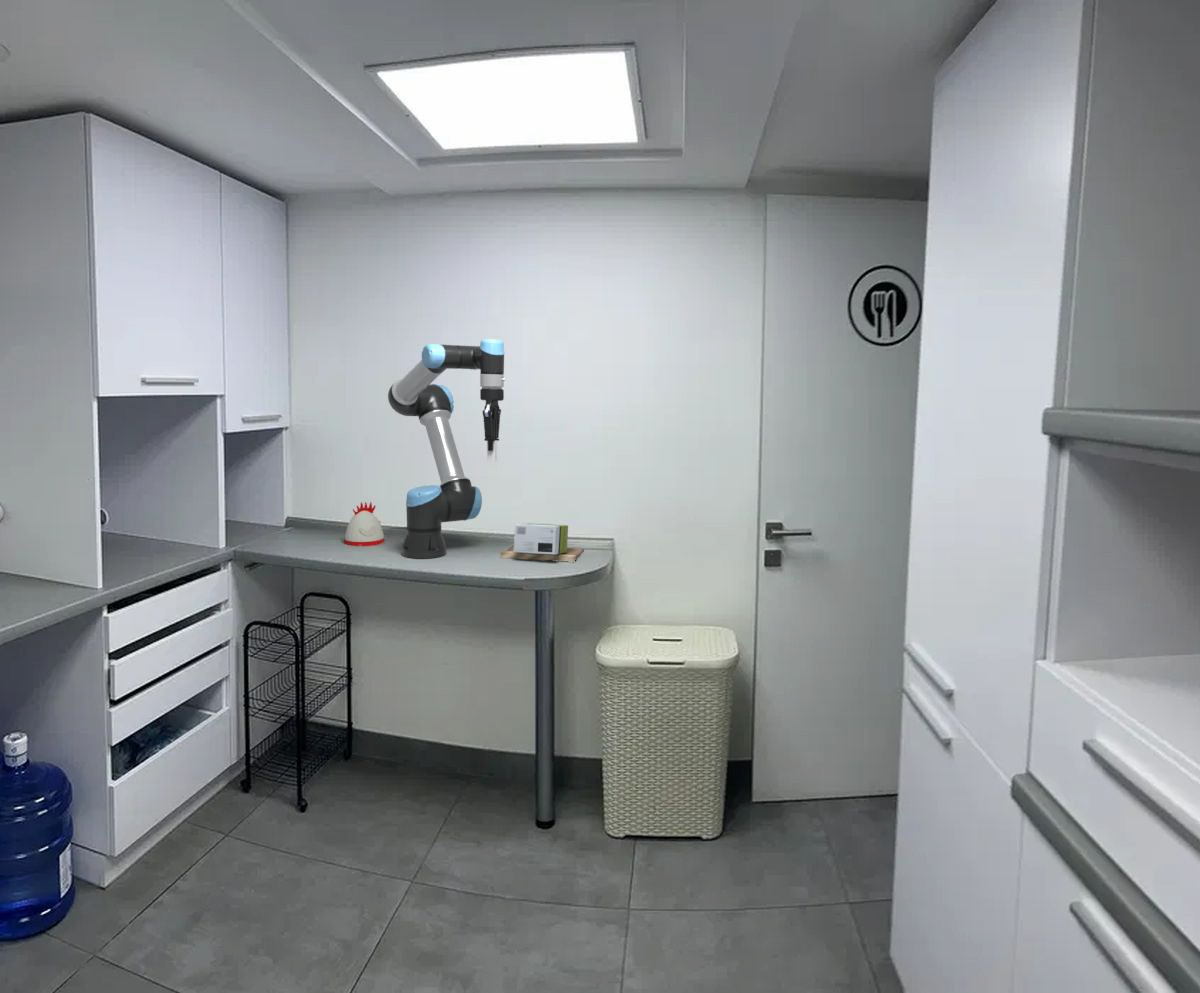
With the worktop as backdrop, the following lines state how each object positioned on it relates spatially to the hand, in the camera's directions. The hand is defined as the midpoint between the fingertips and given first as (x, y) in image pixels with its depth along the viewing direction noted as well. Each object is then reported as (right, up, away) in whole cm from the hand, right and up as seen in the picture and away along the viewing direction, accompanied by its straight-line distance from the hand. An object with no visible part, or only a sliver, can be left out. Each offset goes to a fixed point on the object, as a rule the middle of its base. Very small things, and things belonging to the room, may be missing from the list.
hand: (491, 460), depth 249 cm
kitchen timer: (-51, -29, +31) cm, 67 cm away
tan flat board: (+16, -32, +20) cm, 41 cm away
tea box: (+14, -26, +6) cm, 30 cm away
